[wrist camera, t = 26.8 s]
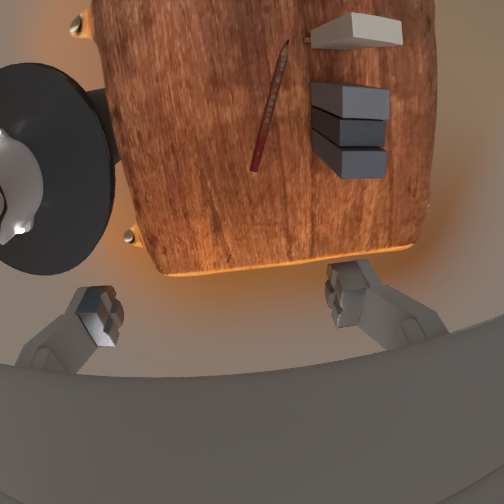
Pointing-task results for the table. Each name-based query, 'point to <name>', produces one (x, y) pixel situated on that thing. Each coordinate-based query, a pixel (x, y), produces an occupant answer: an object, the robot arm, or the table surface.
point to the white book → (357, 32)
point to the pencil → (269, 107)
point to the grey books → (350, 128)
